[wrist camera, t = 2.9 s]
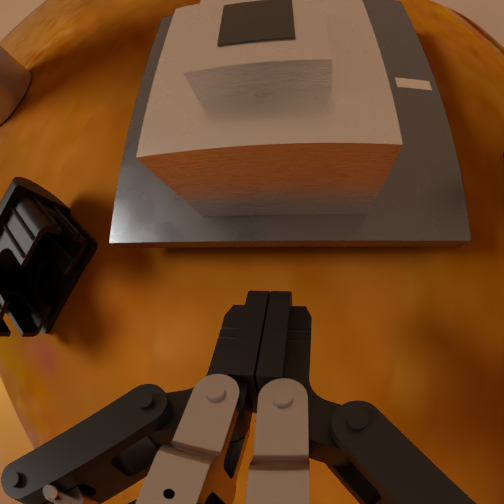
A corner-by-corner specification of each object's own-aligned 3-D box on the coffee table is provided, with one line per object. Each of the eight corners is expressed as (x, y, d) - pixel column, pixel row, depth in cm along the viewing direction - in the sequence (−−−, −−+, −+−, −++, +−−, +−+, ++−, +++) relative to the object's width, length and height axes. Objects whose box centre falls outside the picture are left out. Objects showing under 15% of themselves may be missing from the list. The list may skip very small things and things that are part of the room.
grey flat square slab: (122, 247, 19) (108, 242, 17) (168, 28, 23) (162, 16, 21) (459, 246, 15) (471, 240, 14) (398, 13, 19) (400, 1, 17)
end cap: (60, 195, 24) (4, 165, 17) (104, 239, 22) (40, 213, 15) (10, 287, 23) (-46, 276, 17) (46, 340, 21) (-18, 341, 15)
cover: (202, 216, 17) (111, 135, 8) (215, 90, 18) (164, -15, 10) (367, 214, 15) (416, 115, 7) (351, 83, 17) (360, -35, 8)
